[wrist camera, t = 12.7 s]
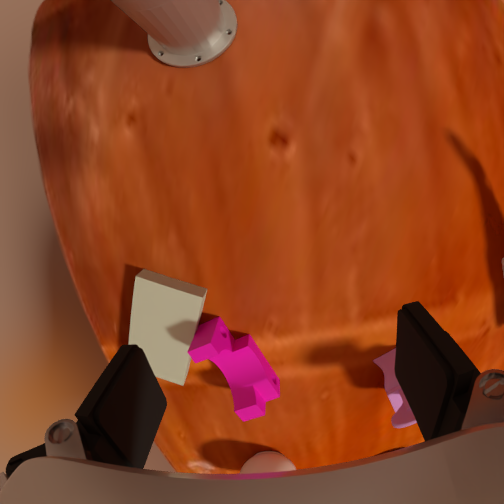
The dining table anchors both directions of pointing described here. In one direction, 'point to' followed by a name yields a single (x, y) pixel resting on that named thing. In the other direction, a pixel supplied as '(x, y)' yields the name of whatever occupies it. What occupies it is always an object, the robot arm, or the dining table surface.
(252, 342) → the toy block
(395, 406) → the toy chair
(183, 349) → the base slab
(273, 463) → the lidded bowl
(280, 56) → the dining table surface
